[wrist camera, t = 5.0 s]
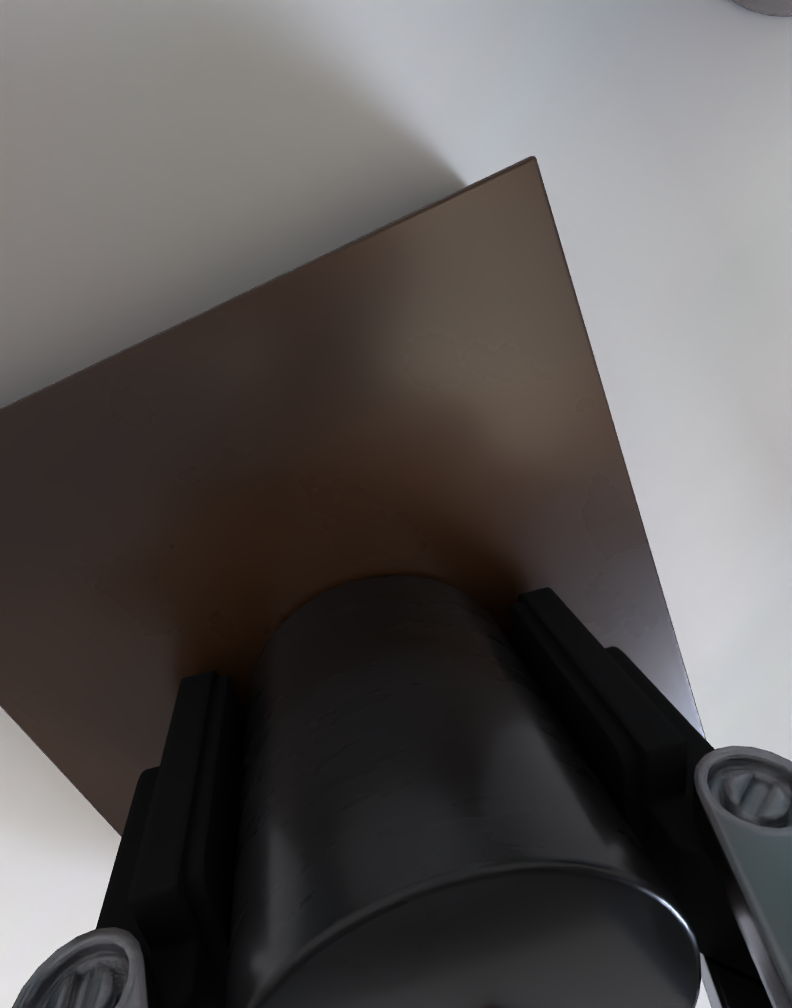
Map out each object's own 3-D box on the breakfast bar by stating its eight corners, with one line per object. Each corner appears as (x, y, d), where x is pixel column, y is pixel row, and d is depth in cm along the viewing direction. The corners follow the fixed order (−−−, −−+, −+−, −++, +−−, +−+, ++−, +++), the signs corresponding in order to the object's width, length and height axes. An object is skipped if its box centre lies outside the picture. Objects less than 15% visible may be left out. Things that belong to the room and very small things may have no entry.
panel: (-73, 446, 11) (-193, 501, 8) (471, 185, 11) (536, 152, 8) (287, 895, 16) (290, 1020, 13) (650, 716, 16) (725, 803, 14)
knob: (195, 741, 10) (107, 1223, 5) (347, 522, 10) (435, 825, 4) (413, 827, 12) (520, 1260, 7) (560, 646, 11) (819, 978, 6)
